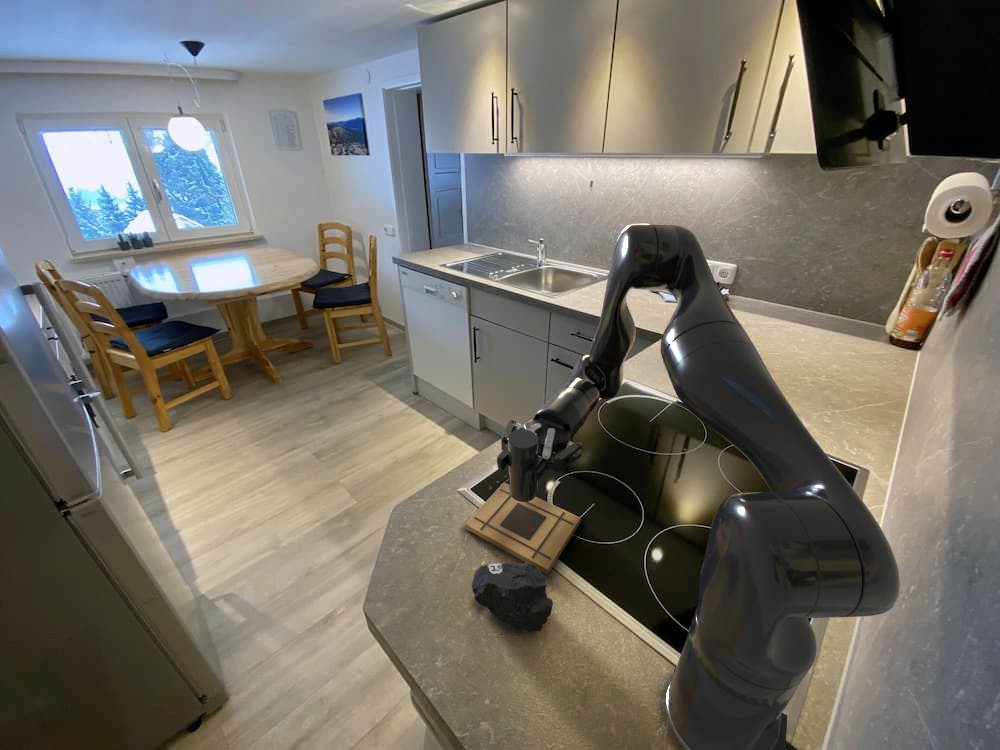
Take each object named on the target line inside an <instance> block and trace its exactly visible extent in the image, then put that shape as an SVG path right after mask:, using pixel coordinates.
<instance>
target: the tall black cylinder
mask: <svg viewBox="0 0 1000 750" xmlns="http://www.w3.org/2000/svg"><path fill="white" fill-rule="evenodd" d="M538 458H539V452H538V436H537V434H536V433H534V432H533V431H530V430H526V429H520V430H516V431H513V432H512V433H511V434H510V435H509V436H508V459H509V464H508V484H509V493H510V495H511V497H512V498H513V499H515V500H516V501H520V502H528V501H531V500H533V499H534V498H535V497H537V495H538V488H539V487H538V485H539V484H538V483H539V480H537V481H533V483H530V482H528V481H527V473H528V470H529V469H530V468H531V467H532V465H533V464H534V463H535V462H536V461H537V459H538Z"/></svg>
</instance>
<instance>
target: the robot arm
mask: <svg viewBox="0 0 1000 750" xmlns="http://www.w3.org/2000/svg"><path fill="white" fill-rule="evenodd" d="M605 285H606V286H605V292H604V297H603V302H602V308H601V314H600V318H599V322H598V325H597V328H596V331H595V334H594V336H593V338H592V342H591V344H590V347H589V350H588V354H584V355H582V356H580V357H579V358H578V359H577V360H576V362H575V364H574V365H573V368H572V371H571V374H570V377H569V378H570V379H569V380H568V381H567V383H566V384H564V386H563V387H562V388H561V389H560V390H559V391H558V392H556V393H555V394H553V395H552V397H550V398H549V400H547V402H546V403H544V405H543V406H542V407H541V408H539V410H538V411H537V412H536V413H535V414H534V416H533V417H532V419H531V420H530V421H527V422H525V423H524V424H522V423H517V420H516V419H515V418H511V419H509V421H508V422H507V424H506V427H505V428H504V431H503V432H502V434H501V437H500V446H501V448H500V449H501V452H500V453H499V454H498V455H497V457H496V464H497V469H498V470H500V471H504V470H505V469H506V468H507V467H508V466H509V459H508V436H509V435H510V434H511V433H512V432H513V431H516V430H520V429H526V430H530V431H533V432H534V433H536V434H537V436H538V453H540V454H542V455H541V457H538V459H537V461H536V462H535V463H534V464H533V465H532V467H531V468H530V469H529V470H528V473H527V481H528V482H530V483H533V481H537V480H538V481H539V480H540V479H541V477H542V476H543V475H544V474H545V473H546V471H550V470H553V471H554V472H555V473H561V472H562V471H564V470H565V469H566V468H568V467H569V466H570V465H572V464H573V463H575V462H576V461H577V460H579V459H580V458H581V457H582V450H583V448H582V446H583V443H582V442H580V441H575V442H573V441H571V440H572V439H573V438H574V437H575V435H576V434H577V433H578V432H579V430H580V429H581V428H582V427H583V426H584V424H585V423H586V421H587V419H588V417H589V415H590V414H591V412H592V411H593V410H594V409H595V408H596V406H597V405H598V403H599V401H600V399H601V400H610V399H613V398H614V397H616V395H618V394H619V392H620V390H621V388H622V385H623V381H624V371H625V370H624V368H625V362H626V359H627V357H628V355H629V353H630V351H631V349H632V347H633V345H634V343H635V339H636V334H637V333H636V332H637V331H636V324H635V321H634V318H633V316H632V314H631V311H630V308H629V305H628V301H627V296H628V294H629V292H630V291H631V290H632V289H634V290H649V291H650V290H651V291H666V292H668V293H670V294H671V295H672V296H673V298H674V300H675V302H676V307H675V309H674V311H673V312H672V315H671V317H670V318H669V320H668V322H667V323H666V326H665V328H664V330H663V333H662V336H661V340H660V356H661V359H662V362H663V365H664V368H665V370H666V373H667V375H668V377H669V380H670V382H671V386H672V388H673V391H674V393H675V395H676V396H677V398H678V399H679V400H680V402H681V403H682V404H683V405H684V407H686V408H687V409H688V410H689V411H690V412H691V413H692V414H693V415H694V416H695V417H697V418H698V420H700V421H701V422H703V423H704V424H705V425H706V426H708V427H709V428H710V429H711V430H713V431H714V432H716V434H718V435H719V436H721V438H723V439H724V440H725V441H727V442H729V443H730V444H731V445H732V446H733V447H735V448H736V449H738V451H739V452H741V453H742V455H743V456H745V458H747V459H748V461H749V462H750V463H751V464H752V465H753V466H754V468H755V469H756V470H757V472H758V473H759V475H760V476H761V478H762V479H763V481H764V482H765V484H766V485H767V487H768V489H769V491H753V492H752V491H751V492H750V491H749V492H748V491H747V492H736V493H732V494H730V495H728V496H727V497H725V498H724V499H722V502H721V503H720V504H719V506H718V507H717V509H716V511H715V514H714V516H713V518H712V523H711V526H710V531H709V535H708V540H707V543H706V548H705V552H704V558H703V561H702V564H701V568H700V573H699V589H698V590H699V591H698V592H699V593H698V594H699V595H698V602H697V606H696V609H695V612H694V615H693V617H692V620H691V623H690V626H689V629H688V632H687V635H686V638H685V641H684V644H683V647H682V650H681V652H680V655H679V659H678V662H677V664H676V666H675V667H674V670H673V676H672V679H671V681H670V683H669V684H668V687H667V691H666V694H665V703H664V706H665V714H666V719H667V722H668V725H669V727H670V730H671V731H672V734H673V736H674V737H675V739H676V741H677V742H678V744H679V745H680V747H681V748H682V749H683V750H799V749H798V748H797V747H796V746H794V745H793V744H791V743H790V742H789V741H788V740H787V730H788V729H787V728H788V715H787V714H786V713H784V711H785V710H786V708H787V706H788V705H789V703H790V701H791V700H792V699H793V697H794V695H795V693H796V692H797V690H798V688H799V687H800V686H801V684H802V682H803V681H804V680H805V678H806V676H807V675H808V673H809V672H810V671H811V668H812V667H813V665H814V662H815V661H816V657H817V647H818V646H817V639H816V635H815V632H814V629H813V626H812V624H811V622H810V621H809V619H827V618H829V619H831V618H835V619H836V618H862V617H873V616H878V615H883V614H885V613H887V612H889V611H890V610H891V609H892V608H893V607H894V606H895V605H896V603H897V601H898V599H899V595H900V589H901V580H900V571H899V567H898V562H897V560H896V557H895V554H894V552H893V549H892V546H891V544H890V542H889V541H888V539H887V537H886V535H885V533H884V530H883V529H882V528H881V525H880V524H879V523H878V521H877V519H876V518H875V516H874V515H873V514H872V512H871V511H870V509H869V507H868V506H867V505H866V503H865V502H864V500H862V498H861V497H860V496H859V494H858V493H857V492H856V490H855V489H854V488H853V486H852V485H851V483H849V482H848V480H847V479H846V478H845V476H844V475H843V474H842V472H841V471H840V470H839V469H838V468H837V466H836V465H835V464H834V462H833V461H832V460H831V459H830V457H829V456H828V454H827V453H826V452H825V451H824V449H823V448H822V447H821V445H819V443H818V442H817V441H816V439H815V438H814V436H813V435H812V434H811V433H810V431H809V430H808V429H807V427H806V426H805V425H804V423H803V422H802V420H801V418H800V417H799V416H798V415H797V413H796V412H795V410H794V409H793V407H792V405H791V404H790V402H789V401H788V399H787V398H786V396H785V395H784V393H783V391H782V390H781V389H780V387H779V386H778V384H777V383H776V381H775V379H774V378H773V376H772V374H771V373H770V371H769V369H768V368H767V367H766V364H765V363H764V361H763V358H762V356H761V354H760V353H759V351H758V350H757V349H758V348H756V346H755V345H754V343H753V342H752V339H751V338H750V336H749V334H748V333H747V332H746V330H745V328H744V327H743V326H742V323H740V321H739V320H738V318H737V317H736V315H735V314H734V312H733V311H732V309H731V307H730V305H729V304H728V302H727V300H726V298H725V296H724V294H723V292H722V291H721V289H720V287H719V285H718V283H717V281H716V280H715V277H714V275H713V273H712V271H711V268H710V266H709V263H708V260H707V259H706V255H705V253H704V251H703V249H702V246H701V244H700V242H699V240H698V238H697V237H696V234H694V233H693V231H692V230H690V228H687V227H686V226H685V227H684V226H681V225H673V224H671V225H670V224H669V225H668V224H649V223H633V224H629V225H627V226H626V227H624V229H623V230H622V231H621V232H620V233H619V236H618V239H617V240H616V243H615V246H614V250H613V252H612V256H611V261H610V266H609V272H608V277H607V281H606V284H605ZM558 451H560V452H559V453H557V454H556V455H554V453H556V452H558Z"/></svg>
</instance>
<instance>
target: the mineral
mask: <svg viewBox="0 0 1000 750" xmlns="http://www.w3.org/2000/svg"><path fill="white" fill-rule="evenodd" d="M476 569H477V570H475V572H474V574H473V578H472V582H471V590H472V593H473V598H474V600H475V601H476V603H478V604H479V605H481V606H483V607H485V608H486V609H488V610H489V612H490V613H491V614H492V615H494V617H495V618H496V619H497V620H498V621H500V622H502V623H504V624H506V625H509V626H511V627H513V628H515V629H518V630H520V631H523V632H525V633H529V634H530V633H536V632H540V631H542V629H543V627H544V625H546V624H547V623H548V620H549V619H548V618H549V617H550V616H551V615H552V611H553V607H554V601H553V600H552V598H550V597H548V596H547V587H548V586H547V582H546V581H547V579H546V578H545V576H544V575H543V574H544V573H543V572H542V571H540V570H539V569H538V568H537V567H536V566H534V565H533V564H531V563H529V562H516V563H515V562H503V563H502V562H499V563H488V564H484V565H479V567H478V568H476Z"/></svg>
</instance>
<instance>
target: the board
mask: <svg viewBox="0 0 1000 750" xmlns="http://www.w3.org/2000/svg"><path fill="white" fill-rule="evenodd" d="M581 521H582V517H580V516H578V515H576V514H574V513H572V512H570V511H567V510H565V509H563V508H561V507H559V506H556V505H554V504H552V503H550V502H548V501H545V500H543V499H541V498H540V497H537V496H536V497H535V498H534V499H533V500H531V501H528V502H520V501H516V500H515V499H513V498H512V497H511V495H510V493H509V483H507V482H503V483H502V484H501V485H500V486H499V487H498V488H497V489H496V490H495V491H494V492H493V493H492V494H491V496H490V497H488V499H487V500H486V501H485V502H484V503H483V504H482V505H481V506H480V507H479V508H478V509H477V511H475V513H473V515H472V516H471V517H470V518H469V519H468V521H466V523H465V524H464V527H465V530H467V531H468V532H471V533H472V534H474V535H476V536H477V537H479V538H481V539H483V540H485V541H487V542H488V543H491V544H492V545H494V546H496V547H497V548H499V549H500V550H502V551H504V552H506V553H508V554H510V555H511V556H513V557H515V558H517V559H519V560H520V561H522V562H523V563H526V562H529V563H531V564H533V565H534V566H536V567H537V568H538V569H539V571H541V572H542V573H543V574H544V575H545V574H546V575H548V574H549V573H550V572H551V570H552V568H553V567H554V565H555V563H556V562H557V561H558V559H559V557H560V556H561V554H562V553H563V552H564V549H565V548H566V546H567V545H568V543H569V541H570V540H571V539H572V537H573V536H574V534H575V532H576V531H577V529H578V527H579V526H580V524H581Z"/></svg>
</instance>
